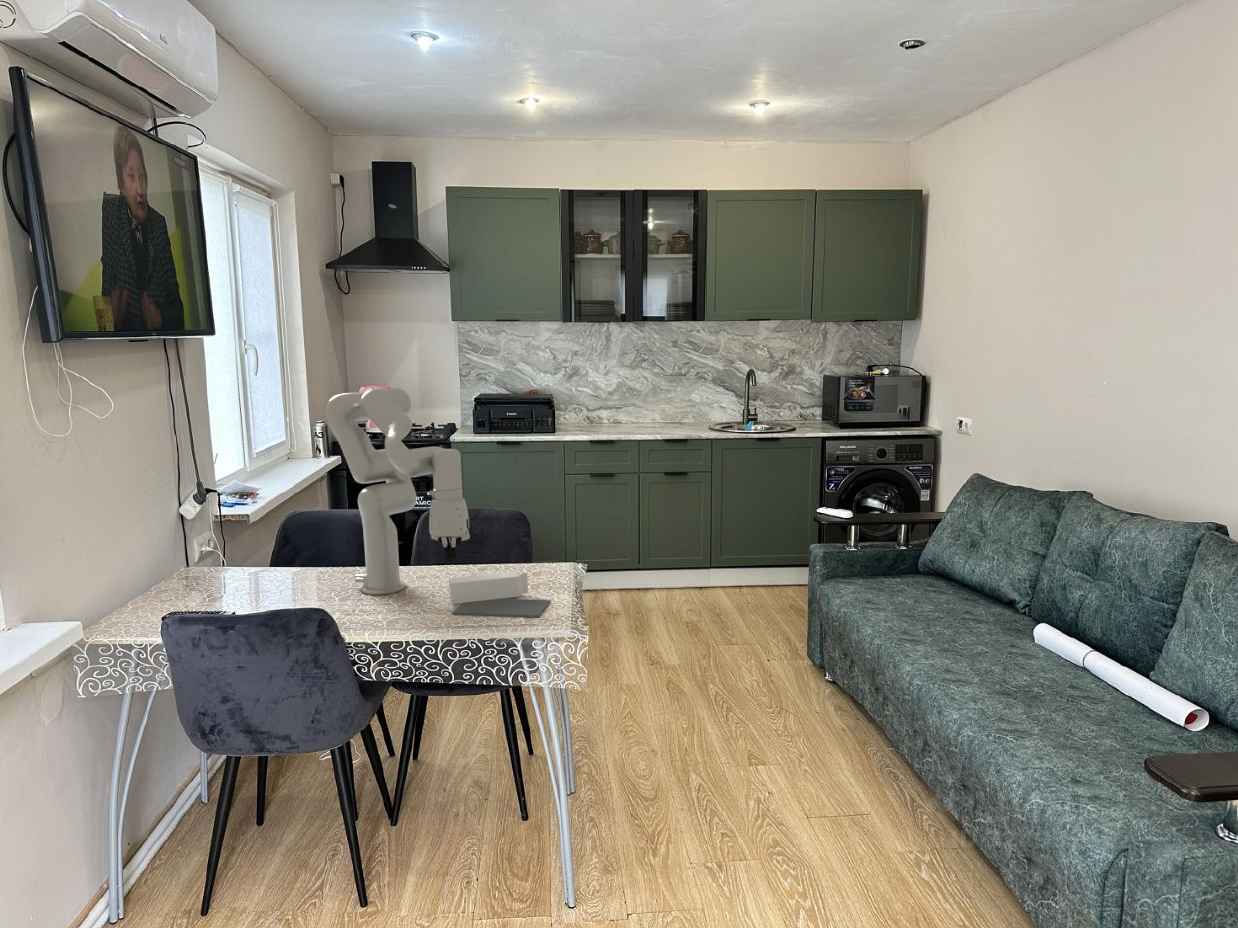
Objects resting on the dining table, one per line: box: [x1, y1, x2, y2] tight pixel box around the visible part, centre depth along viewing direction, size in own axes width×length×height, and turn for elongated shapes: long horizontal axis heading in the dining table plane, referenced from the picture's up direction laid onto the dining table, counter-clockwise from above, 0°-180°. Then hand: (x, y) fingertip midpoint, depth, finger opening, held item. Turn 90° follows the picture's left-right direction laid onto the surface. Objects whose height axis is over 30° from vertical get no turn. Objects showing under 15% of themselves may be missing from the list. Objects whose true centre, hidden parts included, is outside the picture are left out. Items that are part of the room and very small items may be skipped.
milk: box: [448, 571, 529, 605], centre depth 223 cm, size 6×6×22 cm
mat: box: [451, 598, 551, 619], centre depth 215 cm, size 24×13×1 cm, turn 82°
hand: (451, 560), depth 215 cm, fingers closed
